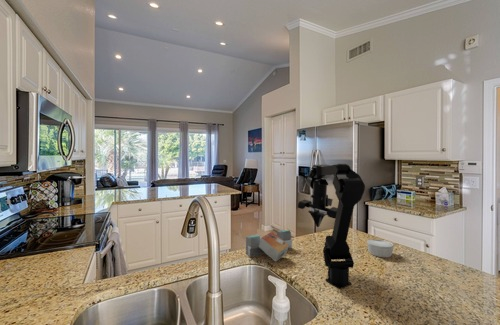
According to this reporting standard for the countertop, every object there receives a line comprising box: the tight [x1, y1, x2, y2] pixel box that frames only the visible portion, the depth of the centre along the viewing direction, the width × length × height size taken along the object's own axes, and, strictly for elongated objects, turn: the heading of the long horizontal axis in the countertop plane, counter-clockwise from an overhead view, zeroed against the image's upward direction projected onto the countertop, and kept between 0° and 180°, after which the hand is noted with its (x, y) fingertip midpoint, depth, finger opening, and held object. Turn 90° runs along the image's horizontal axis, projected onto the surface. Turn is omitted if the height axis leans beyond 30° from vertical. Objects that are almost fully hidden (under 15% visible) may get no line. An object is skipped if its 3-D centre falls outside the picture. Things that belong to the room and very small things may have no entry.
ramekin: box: [366, 238, 395, 258], centre depth 112 cm, size 11×11×5 cm
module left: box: [245, 234, 262, 255], centre depth 110 cm, size 5×5×9 cm
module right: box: [276, 229, 292, 240], centre depth 119 cm, size 5×5×9 cm
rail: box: [247, 238, 294, 258], centre depth 113 cm, size 3×24×5 cm, turn 119°
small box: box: [259, 231, 289, 263], centre depth 106 cm, size 8×6×10 cm
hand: (317, 226), depth 106 cm, fingers closed
